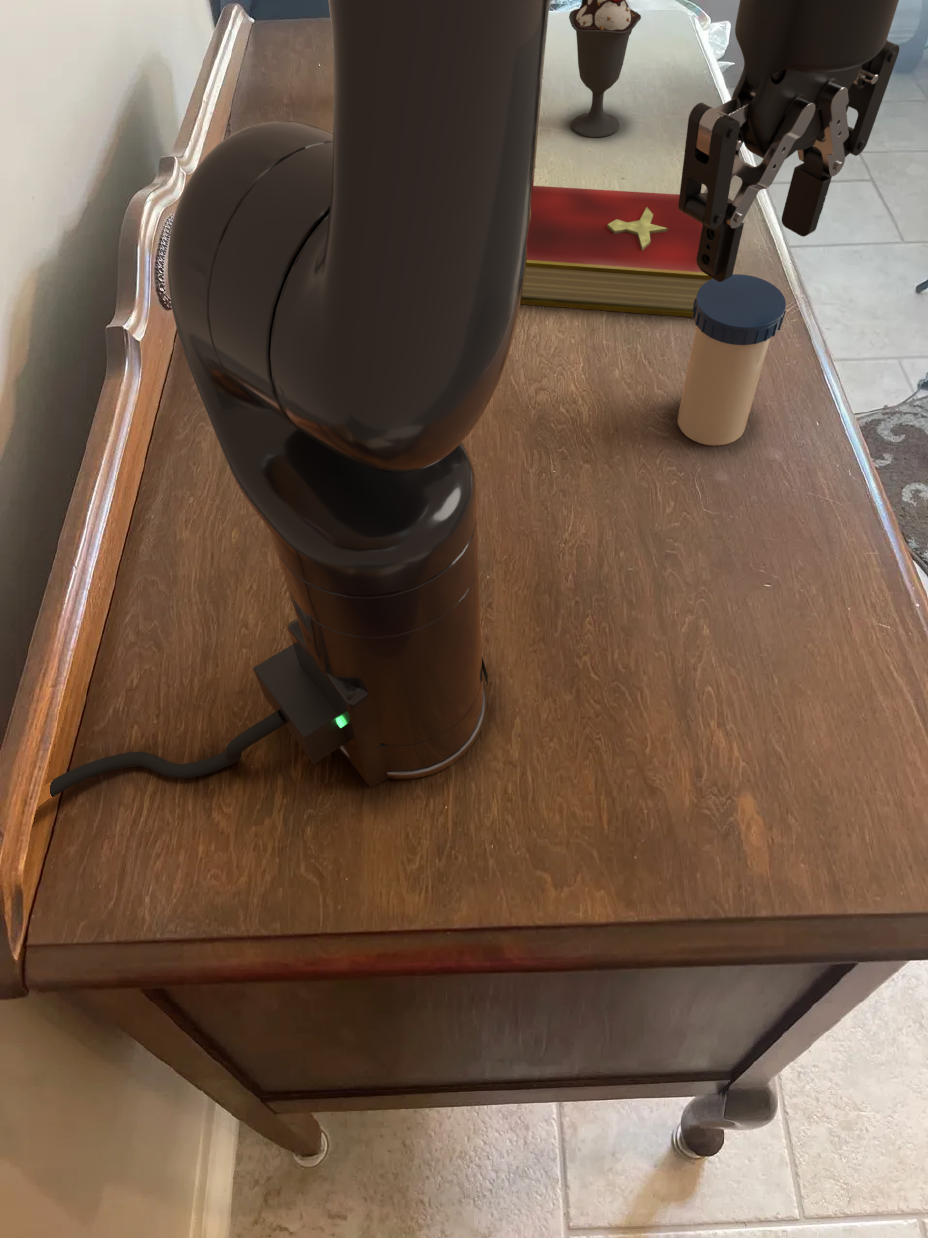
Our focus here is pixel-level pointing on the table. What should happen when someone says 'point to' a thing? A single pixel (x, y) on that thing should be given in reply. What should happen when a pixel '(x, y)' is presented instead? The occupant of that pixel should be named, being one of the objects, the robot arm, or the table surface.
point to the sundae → (601, 57)
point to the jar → (719, 389)
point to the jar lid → (739, 310)
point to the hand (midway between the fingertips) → (756, 250)
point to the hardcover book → (612, 252)
